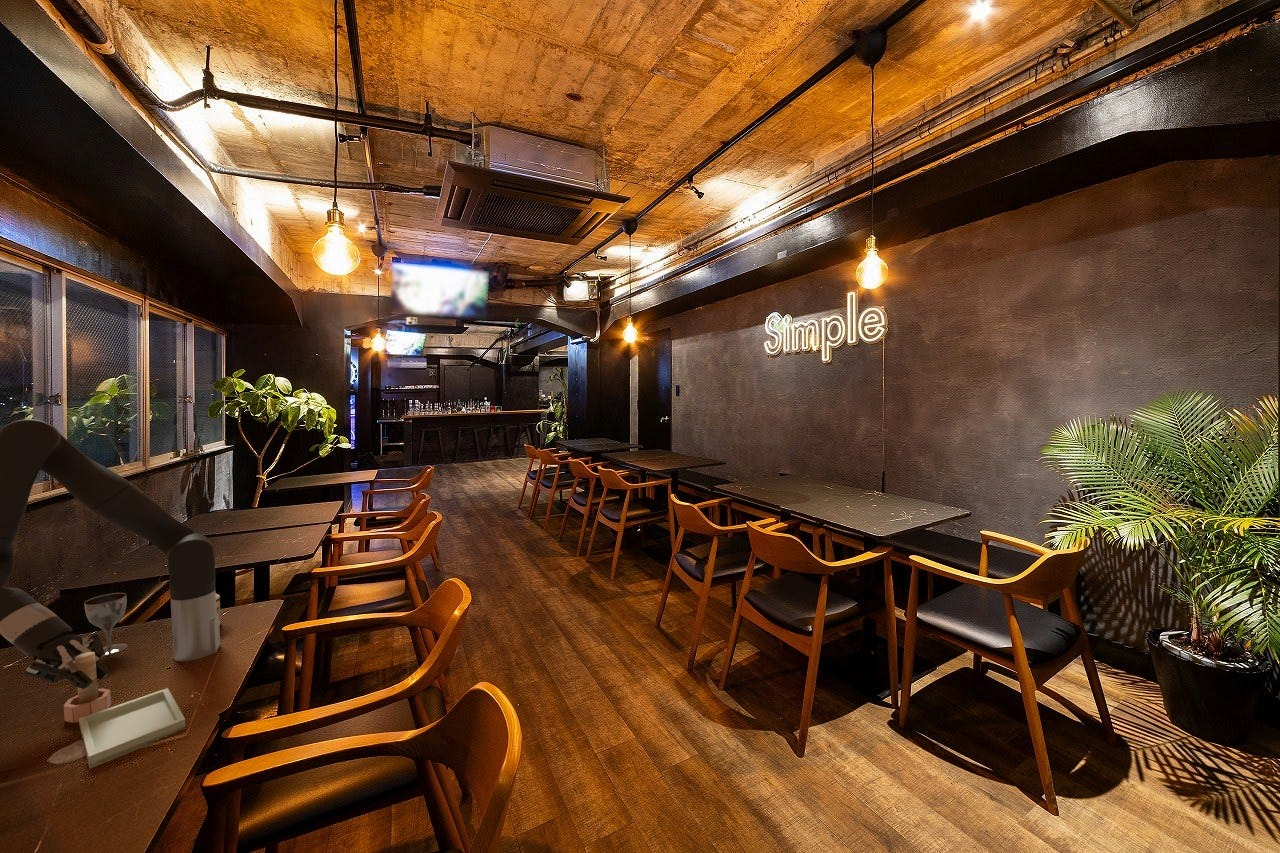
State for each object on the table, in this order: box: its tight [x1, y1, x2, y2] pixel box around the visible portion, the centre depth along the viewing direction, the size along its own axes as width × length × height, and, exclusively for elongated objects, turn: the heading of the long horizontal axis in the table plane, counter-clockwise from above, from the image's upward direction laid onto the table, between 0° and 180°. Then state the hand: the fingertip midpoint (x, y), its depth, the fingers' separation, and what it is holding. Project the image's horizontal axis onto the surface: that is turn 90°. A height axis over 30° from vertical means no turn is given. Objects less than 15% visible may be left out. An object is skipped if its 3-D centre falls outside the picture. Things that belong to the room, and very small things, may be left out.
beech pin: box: [74, 652, 99, 704], centre depth 111 cm, size 3×3×11 cm
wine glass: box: [84, 592, 129, 658], centre depth 138 cm, size 8×8×15 cm
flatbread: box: [46, 738, 87, 765], centre depth 100 cm, size 8×8×1 cm
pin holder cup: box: [63, 688, 112, 724], centre depth 112 cm, size 7×7×4 cm
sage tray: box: [78, 687, 187, 769], centre depth 107 cm, size 18×14×2 cm
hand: (96, 680), depth 111 cm, fingers closed on beech pin, 3 cm apart
